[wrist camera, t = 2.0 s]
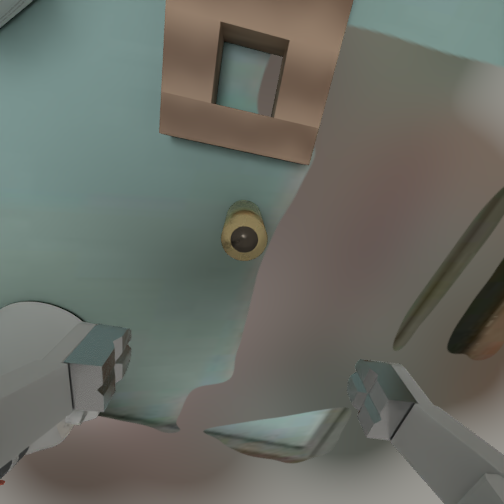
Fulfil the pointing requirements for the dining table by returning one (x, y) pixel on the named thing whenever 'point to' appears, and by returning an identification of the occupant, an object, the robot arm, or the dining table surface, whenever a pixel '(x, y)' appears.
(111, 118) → the dining table surface
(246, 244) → the brass sleeve
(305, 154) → the walnut block
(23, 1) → the skincare box
